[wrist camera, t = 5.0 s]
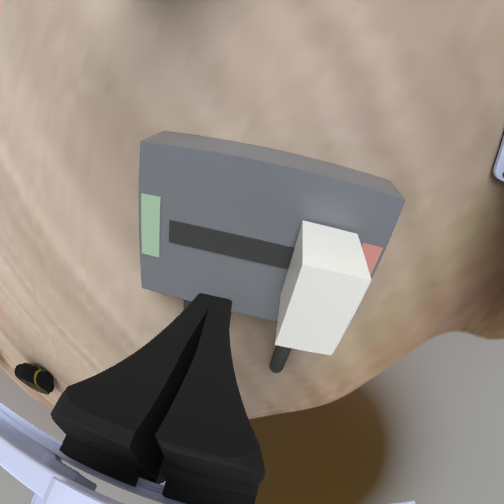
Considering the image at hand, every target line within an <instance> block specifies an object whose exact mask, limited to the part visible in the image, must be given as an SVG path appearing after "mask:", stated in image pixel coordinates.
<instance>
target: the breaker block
mask: <svg viewBox="0 0 504 504" xmlns="http://www.w3.org/2000/svg"><path fill="white" fill-rule="evenodd" d="M404 202H405V198H404V197H403V196H402V195H401V193H400V192H399V191H398V190H397V188H396V187H395V186H394V185H393V184H392V182H391V181H389V180H386V179H382V178H379V177H376V176H373V175H370V174H366V173H363V172H360V171H356V170H353V169H349V168H346V167H342V166H339V165H335V164H331V163H328V162H324V161H320V160H316V159H312V158H308V157H304V156H300V155H296V154H291V153H287V152H283V151H278V150H273V149H269V148H264V147H259V146H254V145H249V144H244V143H238V142H233V141H227V140H222V139H216V138H209V137H203V136H196V135H189V134H182V133H175V132H167V131H163V132H160V133H158V134H156V135H154V136H151V137H149V138H147V139H145V140H142V141H141V145H140V168H139V239H140V263H141V279H142V288H144V289H148V290H151V291H155V292H158V293H162V294H166V295H169V296H173V297H177V298H180V299H184V300H188V301H193V299H194V298H195V297H196V296H197V295H198V294H199V293H203V294H208V295H212V296H217V297H222V298H226V299H230V300H231V301H232V309H231V311H232V312H236V313H240V314H245V315H249V316H254V317H258V318H263V319H267V320H272V321H276V322H278V314H279V305H280V296H281V292H282V288H283V285H284V282H285V279H286V275H287V272H288V269H289V265H290V262H291V259H292V255H293V252H294V248H295V245H296V242H297V238H298V235H299V231H300V228H301V224H302V221H303V220H304V221H308V222H312V223H316V224H320V225H324V226H328V227H332V228H336V229H340V230H344V231H348V232H352V233H356V234H358V237H359V240H360V243H361V246H362V250H363V253H364V256H365V259H366V263H367V266H368V270H369V273H370V277H371V279H372V277H373V275H374V273H375V271H376V268H377V266H378V264H379V262H380V260H381V257H382V255H383V253H384V251H385V249H386V246H387V244H388V242H389V239H390V237H391V235H392V232H393V230H394V227H395V225H396V223H397V220H398V218H399V215H400V213H401V210H402V207H403V205H404Z"/></svg>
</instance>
